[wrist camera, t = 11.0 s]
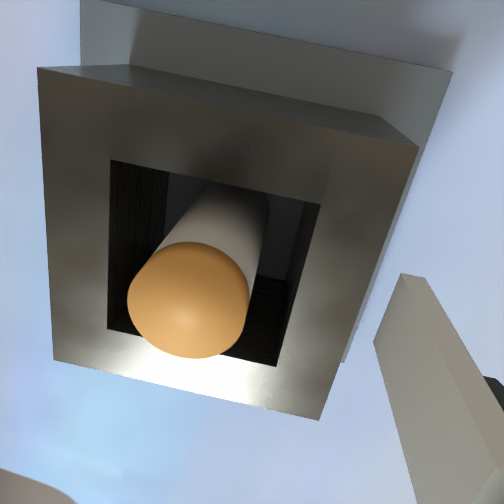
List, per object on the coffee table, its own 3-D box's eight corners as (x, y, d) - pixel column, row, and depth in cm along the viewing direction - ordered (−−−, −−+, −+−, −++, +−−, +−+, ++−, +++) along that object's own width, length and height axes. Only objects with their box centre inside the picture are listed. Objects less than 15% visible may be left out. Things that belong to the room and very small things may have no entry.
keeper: (92, 294, 22) (-31, 429, 14) (92, -1, 16) (-130, -61, 8) (342, 350, 22) (364, 523, 14) (444, 71, 15) (596, 85, 7)
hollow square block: (120, 279, 20) (53, 359, 15) (128, 64, 16) (37, 67, 10) (315, 323, 20) (318, 420, 15) (380, 116, 15) (419, 147, 10)
